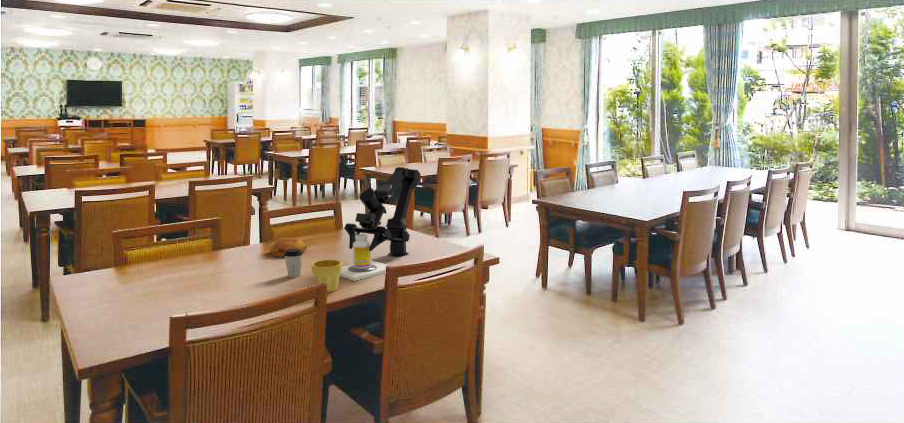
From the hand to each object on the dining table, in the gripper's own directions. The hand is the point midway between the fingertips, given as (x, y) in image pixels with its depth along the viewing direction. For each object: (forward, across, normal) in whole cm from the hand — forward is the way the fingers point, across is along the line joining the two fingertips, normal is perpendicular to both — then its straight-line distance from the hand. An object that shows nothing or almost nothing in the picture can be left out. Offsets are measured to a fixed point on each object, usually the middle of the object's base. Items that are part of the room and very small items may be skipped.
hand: (359, 249), depth 242 cm
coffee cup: (+16, -21, -3) cm, 27 cm away
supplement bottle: (+4, 0, +6) cm, 8 cm away
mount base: (+5, 0, +7) cm, 9 cm away
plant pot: (+23, +1, -10) cm, 25 cm away
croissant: (-2, -46, +16) cm, 49 cm away
